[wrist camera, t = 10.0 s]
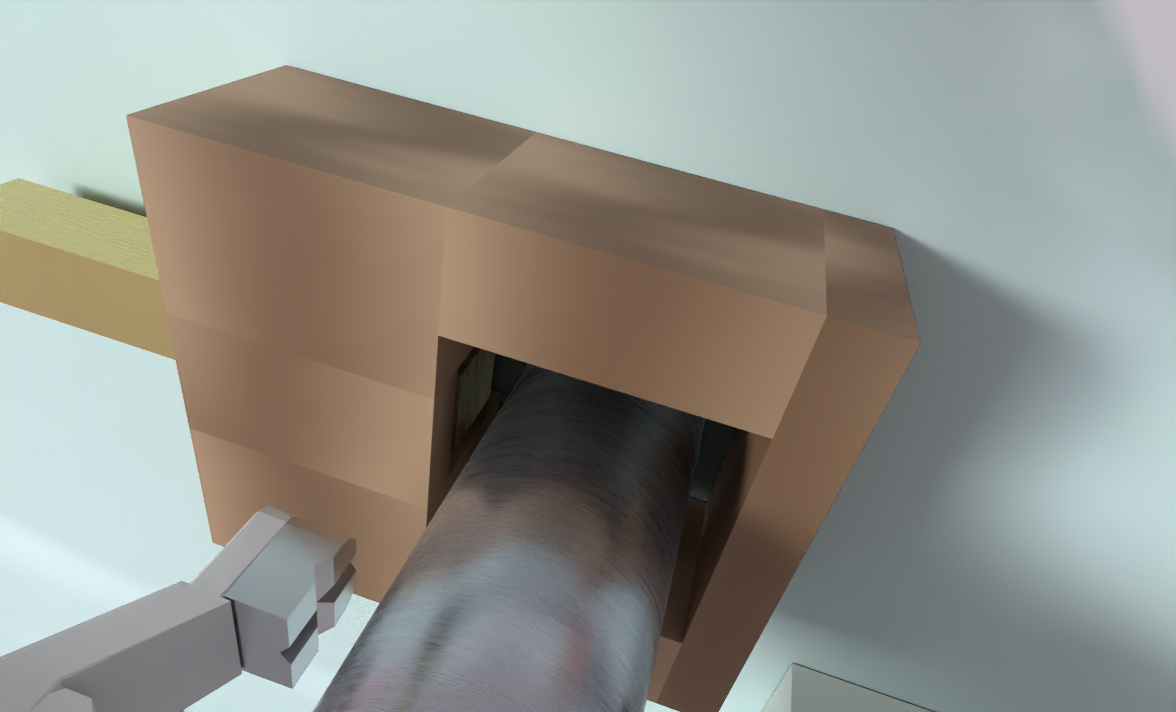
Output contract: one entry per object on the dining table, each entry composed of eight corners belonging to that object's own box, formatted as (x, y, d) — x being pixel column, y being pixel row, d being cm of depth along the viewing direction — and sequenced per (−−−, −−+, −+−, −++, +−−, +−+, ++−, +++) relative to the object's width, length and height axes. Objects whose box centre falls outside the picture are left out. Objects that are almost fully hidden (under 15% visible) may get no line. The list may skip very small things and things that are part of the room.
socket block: (893, 228, 13) (920, 343, 9) (730, 577, 18) (712, 723, 15) (286, 65, 14) (126, 115, 11) (311, 436, 20) (212, 542, 16)
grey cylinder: (684, 470, 17) (413, 1659, 5) (527, 420, 17) (-22, 1416, 6) (733, 334, 14) (440, 1894, 3) (550, 279, 15) (-278, 1470, 4)
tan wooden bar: (498, 324, 15) (461, 375, 13) (490, 396, 16) (454, 451, 15) (18, 178, 16) (-69, 208, 15) (41, 253, 18) (-37, 289, 16)
